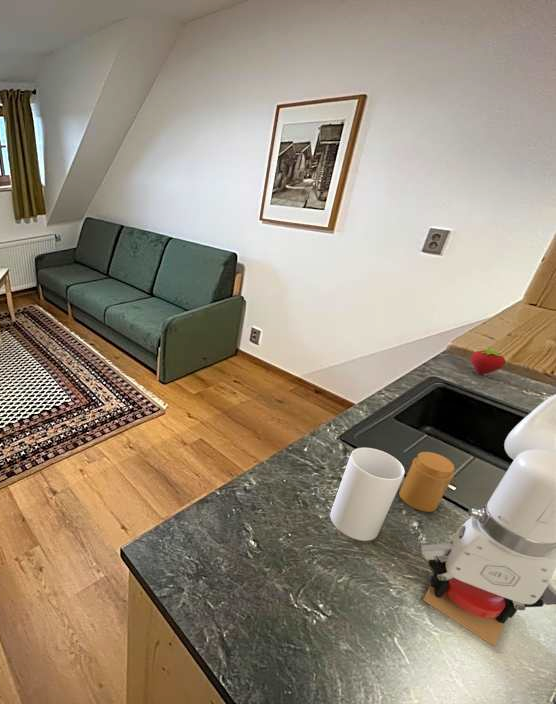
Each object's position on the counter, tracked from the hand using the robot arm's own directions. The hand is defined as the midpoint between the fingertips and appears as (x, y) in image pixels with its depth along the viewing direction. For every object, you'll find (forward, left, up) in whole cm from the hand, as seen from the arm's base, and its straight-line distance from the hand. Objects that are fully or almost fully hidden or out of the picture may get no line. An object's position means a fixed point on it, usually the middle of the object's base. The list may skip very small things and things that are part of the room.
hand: (466, 601), depth 65 cm
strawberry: (+16, -88, -1) cm, 89 cm away
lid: (0, 0, +3) cm, 3 cm away
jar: (+12, -19, -1) cm, 23 cm away
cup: (+18, -3, -1) cm, 18 cm away
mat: (0, 0, -1) cm, 1 cm away
